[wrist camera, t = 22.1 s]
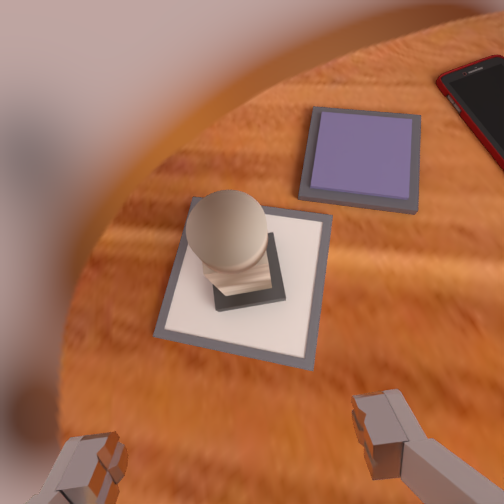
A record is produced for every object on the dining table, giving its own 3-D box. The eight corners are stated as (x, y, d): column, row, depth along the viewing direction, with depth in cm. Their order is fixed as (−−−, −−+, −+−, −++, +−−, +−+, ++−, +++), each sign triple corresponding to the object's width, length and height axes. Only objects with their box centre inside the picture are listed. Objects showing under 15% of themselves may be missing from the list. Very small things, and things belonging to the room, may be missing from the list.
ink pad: (417, 120, 31) (422, 112, 30) (414, 214, 28) (420, 208, 26) (312, 112, 32) (313, 103, 31) (297, 199, 29) (298, 193, 28)
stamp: (273, 237, 28) (269, 170, 17) (285, 300, 26) (289, 267, 15) (211, 249, 28) (170, 189, 18) (218, 312, 26) (177, 287, 16)
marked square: (331, 217, 28) (332, 215, 28) (312, 370, 24) (313, 371, 24) (194, 199, 30) (193, 196, 30) (155, 337, 26) (152, 336, 26)
